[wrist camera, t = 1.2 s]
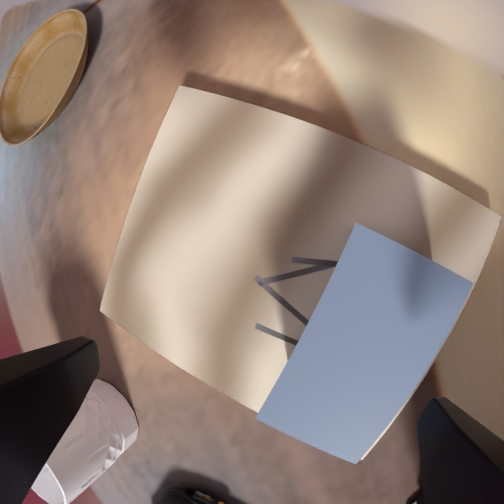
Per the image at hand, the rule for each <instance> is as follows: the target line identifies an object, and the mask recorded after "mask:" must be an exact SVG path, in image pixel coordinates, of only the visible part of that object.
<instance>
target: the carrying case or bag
mask: <svg viewBox="0 0 504 504" xmlns="http://www.w3.org/2000/svg"><path fill="white" fill-rule="evenodd" d="M158 504H228V503H227V502H225V501H223V500H221V499H218V498H214V497H212V496H209V495H206V494H204V493H202V492H200V491H196V490H194V489H191V488H188V487H174V488H171V489H168V490H167V491H166V493H165V494H164V495H163V497H162V498H161V499H160V501H159V502H158Z"/></svg>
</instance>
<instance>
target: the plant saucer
mask: <svg viewBox="0 0 504 504" xmlns="http://www.w3.org/2000/svg"><path fill="white" fill-rule="evenodd" d="M88 42H89V40H88V26H87V22H86V18H85V15H84V14H83V13H82V12H81V11H79V10H77V9H67V10H64V11H61V12H59V13H57V14H55V15H53V16H52V17H50V18H49V19H47V20H46V21H45V22H44V23H43V24H41V25H40V26H39V27H38V28H37V29H36V30H35V31H34V32H33V34H32V35H31V36H30V37H29V38H28V39H27V41H26V42H25V43H24V45H23V46H22V48H21V49H20V51H19V52H18V54H17V56H16V57H15V59H14V61H13V63H12V65H11V67H10V69H9V71H8V73H7V76H6V78H5V81H4V84H3V87H2V90H1V94H0V136H1V138H2V140H3V141H4V143H6V144H7V145H9V146H19V145H21V144H23V143H25V142H27V141H29V140H30V139H32V138H34V137H35V136H37V135H38V134H39V133H41V132H42V131H43V130H44V129H46V128H47V127H48V126H49V125H50V124H51V123H52V122H53V121H54V120H55V119H56V118H57V117H58V116H59V114H60V113H61V112H62V111H63V109H64V108H65V107H66V105H67V104H68V102H69V101H70V99H71V98H72V96H73V94H74V92H75V90H76V88H77V86H78V84H79V82H80V79H81V77H82V74H83V71H84V68H85V65H86V60H87V54H88Z"/></svg>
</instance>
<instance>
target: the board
mask: <svg viewBox="0 0 504 504" xmlns="http://www.w3.org/2000/svg"><path fill="white" fill-rule="evenodd" d="M501 218H502V216H500V215H498V214H497V213H495V212H494V211H492V210H490V209H489V208H487V207H485V206H484V205H482V204H480V203H479V202H477V201H475V200H474V199H472V198H470V197H469V196H467V195H465V194H463V193H462V192H460V191H458V190H456V189H454V188H453V187H451V186H449V185H447V184H445V183H443V182H442V181H440V180H438V179H436V178H434V177H432V176H430V175H428V174H426V173H424V172H422V171H420V170H418V169H416V168H414V167H412V166H410V165H408V164H406V163H404V162H402V161H400V160H398V159H395V158H393V157H391V156H389V155H387V154H385V153H382V152H380V151H378V150H376V149H373V148H371V147H369V146H366V145H364V144H362V143H359V142H357V141H355V140H352V139H350V138H347V137H345V136H342V135H340V134H337V133H335V132H332V131H330V130H327V129H324V128H322V127H319V126H316V125H314V124H311V123H308V122H305V121H302V120H300V119H297V118H294V117H291V116H288V115H285V114H282V113H279V112H276V111H273V110H270V109H266V108H263V107H260V106H257V105H253V104H250V103H247V102H243V101H240V100H236V99H232V98H229V97H225V96H221V95H218V94H214V93H210V92H206V91H202V90H198V89H193V88H189V87H185V86H179V88H178V90H177V92H176V94H175V96H174V98H173V100H172V103H171V105H170V107H169V109H168V111H167V114H166V116H165V118H164V120H163V123H162V125H161V127H160V130H159V132H158V134H157V137H156V139H155V141H154V144H153V146H152V149H151V151H150V154H149V156H148V159H147V161H146V164H145V166H144V169H143V172H142V174H141V177H140V180H139V182H138V185H137V188H136V190H135V193H134V196H133V199H132V202H131V205H130V208H129V210H128V213H127V216H126V219H125V222H124V226H123V229H122V232H121V235H120V238H119V241H118V245H117V248H116V251H115V255H114V258H113V262H112V265H111V269H110V272H109V276H108V279H107V283H106V287H105V291H104V295H103V299H102V303H101V307H100V311H101V312H102V313H103V314H105V315H106V316H107V317H108V318H110V319H111V320H112V321H114V322H115V323H116V324H118V325H119V326H121V327H122V328H123V329H125V330H126V331H127V332H129V333H130V334H132V335H133V336H134V337H136V338H137V339H139V340H140V341H141V342H143V343H144V344H146V345H147V346H149V347H150V348H152V349H153V350H154V351H156V352H157V353H159V354H160V355H162V356H163V357H165V358H166V359H168V360H169V361H171V362H173V363H174V364H176V365H177V366H179V367H180V368H182V369H183V370H185V371H187V372H188V373H190V374H191V375H193V376H195V377H196V378H198V379H200V380H201V381H203V382H205V383H206V384H208V385H210V386H211V387H213V388H215V389H216V390H218V391H220V392H222V393H223V394H225V395H227V396H229V397H230V398H232V399H234V400H236V401H237V402H239V403H241V404H243V405H245V406H247V407H248V408H250V409H252V410H254V411H256V412H259V411H260V409H261V407H262V406H263V404H264V402H265V400H266V399H267V397H268V395H269V394H270V392H271V390H272V388H273V387H274V385H275V383H276V381H277V380H278V378H279V376H280V374H281V372H282V371H283V369H284V367H285V365H286V363H287V362H288V360H289V358H290V356H291V354H292V352H293V350H294V349H295V347H296V345H297V343H298V341H299V339H300V337H301V335H302V334H303V332H304V330H305V328H306V326H307V324H308V322H309V320H310V318H311V316H312V314H313V312H314V310H315V308H316V306H317V304H318V302H319V300H320V298H321V296H322V294H323V292H324V290H325V288H326V286H327V284H328V282H329V280H330V278H331V276H332V274H333V272H334V269H335V267H336V265H337V263H338V261H339V259H340V257H341V255H342V252H343V250H344V248H345V246H346V244H347V241H348V239H349V237H350V235H351V233H352V230H353V228H354V226H355V223H358V224H360V225H362V226H364V227H366V228H368V229H370V230H373V231H375V232H377V233H379V234H381V235H383V236H385V237H387V238H389V239H391V240H393V241H395V242H397V243H399V244H401V245H403V246H405V247H407V248H409V249H411V250H413V251H415V252H417V253H419V254H421V255H422V256H424V257H426V258H428V259H430V260H432V261H434V262H436V263H438V264H440V265H441V266H443V267H445V268H447V269H449V270H451V271H453V272H454V273H456V274H458V275H460V276H462V277H464V278H465V279H467V280H469V281H471V282H472V283H473V285H472V287H471V290H470V292H469V294H468V296H467V298H466V300H465V302H464V304H463V306H462V308H461V310H460V312H459V314H458V316H457V318H456V320H455V322H454V324H453V326H452V327H451V329H450V331H449V333H448V335H447V336H446V338H445V340H444V342H443V344H442V345H441V347H440V349H439V350H438V352H437V354H436V356H435V357H434V359H433V360H432V362H431V364H430V365H429V367H428V369H427V370H426V372H425V373H424V375H423V376H422V378H421V380H420V381H419V383H418V384H417V386H416V387H415V389H414V390H413V392H412V393H411V394H410V396H409V397H408V399H407V400H406V402H405V403H404V404H403V406H402V407H401V409H400V410H399V411H398V413H397V414H396V415H395V417H394V418H393V419H392V421H391V422H390V423H389V425H388V426H387V427H386V429H385V430H384V431H383V432H382V434H381V435H380V436H379V437H378V439H377V440H376V441H375V442H374V444H373V445H372V446H371V447H370V448H369V450H368V451H367V452H366V453H365V454H364V456H363V457H362V458H361V460H363V458H364V457H365V456H366V455H367V454H368V453H369V451H370V450H371V449H372V448H373V447H374V445H375V444H376V443H377V442H378V441H379V439H380V438H381V437H382V436H383V434H384V433H385V432H386V431H387V429H388V428H389V427H390V425H391V424H392V423H393V422H394V420H395V419H396V418H397V416H398V415H399V414H400V412H401V411H402V409H403V408H404V407H405V405H406V404H407V402H408V401H409V400H410V398H411V397H412V395H413V394H414V392H415V391H416V389H417V388H418V386H419V385H420V383H421V382H422V380H423V379H424V377H425V376H426V374H427V373H428V371H429V369H430V368H431V366H432V365H433V363H434V361H435V360H436V358H437V356H438V355H439V353H440V351H441V350H442V348H443V346H444V345H445V343H446V341H447V339H448V337H449V336H450V334H451V332H452V330H453V328H454V327H455V325H456V323H457V321H458V319H459V317H460V315H461V313H462V311H463V309H464V307H465V305H466V303H467V301H468V299H469V297H470V295H471V293H472V291H473V289H474V286H475V284H476V282H477V280H478V277H479V275H480V273H481V271H482V268H483V266H484V264H485V261H486V259H487V256H488V254H489V251H490V249H491V246H492V243H493V241H494V238H495V235H496V233H497V230H498V227H499V224H500V221H501Z"/></svg>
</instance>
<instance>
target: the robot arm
mask: <svg viewBox="0 0 504 504" xmlns="http://www.w3.org/2000/svg"><path fill="white" fill-rule="evenodd" d="M99 367H100V363H99V356H98V348H97V343H96V341H95V340H93V339H90V338H87V337H84V336H81V337H78V338H74V339H71V340H67V341H64V342H60V343H57V344H53V345H50V346H46V347H43V348H39V349H36V350H32V351H29V352H25V353H21V354H18V355H14V356H11V357H7V358H3V359H0V504H22V502H23V500H24V499H25V497H26V495H27V494H28V492H29V490H30V488H31V487H32V485H33V483H34V482H35V480H36V478H37V477H38V475H39V473H40V472H41V470H42V468H43V467H44V465H45V464H46V462H47V460H48V459H49V457H50V455H51V454H52V452H53V451H54V449H55V447H56V446H57V444H58V443H59V441H60V440H61V438H62V436H63V435H64V433H65V432H66V430H67V429H68V427H69V425H70V424H71V422H72V421H73V419H74V418H75V416H76V414H77V413H78V411H79V409H80V407H81V405H82V403H83V401H84V399H85V397H86V395H87V393H88V391H89V389H90V387H91V385H92V384H93V382H94V380H95V378H96V376H97V374H98V372H99ZM417 432H418V444H419V457H420V471H421V478H422V485H423V491H422V492H421V493H420V494H419V495H418V496H417V497H416V498H415V499H414V500H413V501H412V502H411V503H410V504H504V441H503V440H502V439H500V438H499V437H498V436H496V435H495V434H494V433H492V432H491V431H490V430H488V429H487V428H486V427H484V426H483V425H482V424H480V423H479V422H477V421H476V420H475V419H473V418H472V417H471V416H469V415H468V414H467V413H465V412H464V411H463V410H461V409H460V408H459V407H457V406H456V405H455V404H453V403H452V402H451V401H449V400H448V399H447V398H445V397H432V398H430V399H429V401H428V402H427V404H426V406H425V408H424V410H423V412H422V413H421V415H420V417H419V419H418V422H417Z"/></svg>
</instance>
